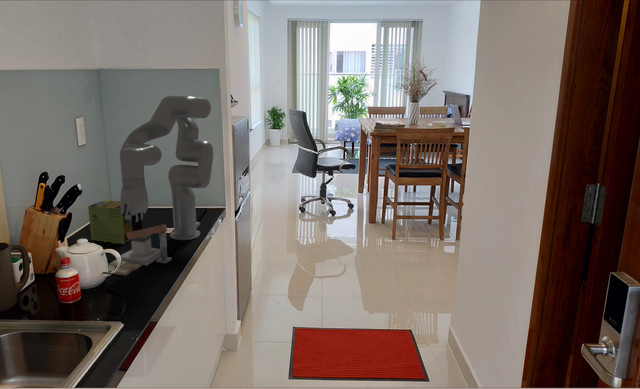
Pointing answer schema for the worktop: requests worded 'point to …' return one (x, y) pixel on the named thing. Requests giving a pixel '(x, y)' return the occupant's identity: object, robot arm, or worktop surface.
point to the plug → (141, 246)
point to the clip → (147, 231)
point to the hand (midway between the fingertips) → (137, 231)
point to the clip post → (163, 249)
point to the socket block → (142, 260)
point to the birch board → (124, 267)
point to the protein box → (109, 222)
